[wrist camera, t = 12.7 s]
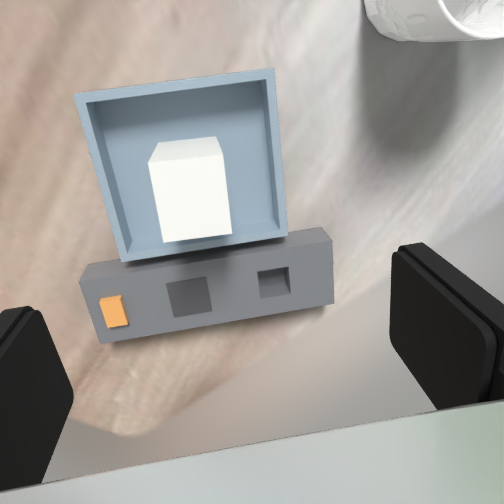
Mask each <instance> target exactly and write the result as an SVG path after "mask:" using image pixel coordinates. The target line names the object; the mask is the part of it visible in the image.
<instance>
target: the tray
mask: <svg viewBox="0 0 504 504" xmlns="http://www.w3.org/2000/svg"><path fill="white" fill-rule="evenodd" d="M73 95H74V99H75V102H76V106H77V109H78V113H79V116H80V120H81V123H82V127H83V130H84V134H85V137H86V141H87V144H88V148H89V151H90V155H91V158H92V162H93V165H94V169H95V172H96V176H97V179H98V183H99V186H100V190H101V193H102V196H103V200H104V203H105V207H106V210H107V214H108V217H109V221H110V224H111V228H112V231H113V235H114V238H115V242H116V245H117V249H118V252H119V256H120V259H121V262H126V261H132V260H139V259H145V258H151V257H157V256H164V255H170V254H176V253H182V252H189V251H195V250H201V249H208V248H214V247H220V246H226V245H233V244H239V243H245V242H251V241H258V240H264V239H270V238H277V237H283V236H288V225H287V213H286V202H285V190H284V178H283V166H282V154H281V143H280V131H279V119H278V107H277V95H276V84H275V72H274V68H268V69H260V70H252V71H244V72H237V73H229V74H221V75H214V76H206V77H198V78H190V79H183V80H175V81H167V82H160V83H152V84H144V85H136V86H129V87H121V88H113V89H106V90H98V91H90V92H83V93H77V94H73ZM213 136H216V137H217V140H218V143H219V145H220V148H221V150H222V153H223V158H224V167H225V176H226V184H227V193H228V201H229V210H230V219H231V227H232V234H225V235H218V236H210V237H203V238H195V239H187V240H180V241H172V242H165V243H163V238H162V233H161V228H160V223H159V217H158V212H157V207H156V202H155V197H154V192H153V187H152V182H151V177H150V172H149V166H148V162H149V160H150V158H151V156H152V154H153V152H154V150H155V148H156V146H157V144H158V142H167V141H176V140H186V139H195V138H204V137H213Z"/></svg>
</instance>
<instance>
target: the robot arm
mask: <svg viewBox="0 0 504 504" xmlns="http://www.w3.org/2000/svg"><path fill="white" fill-rule="evenodd" d="M390 300H391V301H390V330H389V331H390V332H389V333H390V340H391V343H392V345H393V347H394V349H395V350H396V352H397V353H398V355H399V356H400V357H401V359H402V360H403V362H404V363H405V365H406V366H407V367H408V369H409V370H410V372H411V373H412V375H413V376H414V377H415V379H416V380H417V382H418V383H419V385H420V386H421V387H422V389H423V390H424V392H425V393H426V395H427V396H428V397H429V399H430V400H431V402H432V403H433V404H434V406H435V407H436V409H437V410H435V411H430V412H425V413H419V414H413V415H408V416H402V417H396V418H392V419H385V420H380V421H375V422H369V423H363V424H358V425H352V426H346V427H341V428H335V429H330V430H324V431H319V432H313V433H307V434H302V435H296V436H291V437H286V438H280V439H275V440H270V441H264V442H258V443H253V444H248V445H242V446H237V447H232V448H226V449H221V450H215V451H210V452H205V453H199V454H194V455H189V456H184V457H178V458H173V459H167V460H162V461H156V462H151V463H146V464H141V465H135V466H130V467H125V468H119V469H114V470H109V471H104V472H99V473H94V474H88V475H83V476H77V477H72V478H67V479H62V480H56V481H52V482H46V483H42V480H43V478H44V475H45V472H46V470H47V467H48V465H49V462H50V460H51V457H52V455H53V452H54V449H55V447H56V444H57V442H58V439H59V437H60V434H61V432H62V429H63V427H64V424H65V421H66V419H67V416H68V414H69V411H70V409H71V406H72V403H73V398H74V395H73V389H72V386H71V384H70V381H69V379H68V377H67V374H66V372H65V369H64V367H63V364H62V362H61V359H60V357H59V355H58V352H57V350H56V347H55V345H54V342H53V340H52V338H51V335H50V333H49V330H48V328H47V325H46V323H45V321H44V318H43V316H42V314H41V312H40V311H38V310H34V309H33V308H32V307H30V306H24V307H18V308H12V309H6V310H4V311H2V312H1V313H0V504H504V304H503V303H501V302H500V301H499V300H497V299H496V298H495V297H493V296H492V295H491V294H489V293H488V292H487V291H486V290H484V289H483V288H482V287H480V286H479V285H478V284H476V283H475V282H474V281H472V280H471V279H470V278H469V277H467V276H466V275H464V274H463V273H462V272H461V271H459V270H458V269H457V268H455V267H454V266H453V265H452V264H450V263H449V262H448V261H446V260H445V259H444V258H442V257H441V256H440V255H438V254H437V253H436V252H435V251H433V250H432V249H431V248H429V247H428V246H427V245H425V244H424V243H422V242H421V243H415V244H409V245H402V246H400V247H399V248H398V251H397V252H394V253H393V255H392V266H391V298H390Z"/></svg>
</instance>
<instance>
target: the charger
mask: <svg viewBox="0 0 504 504" xmlns="http://www.w3.org/2000/svg"><path fill="white" fill-rule="evenodd" d="M148 166H149V172H150V177H151V182H152V187H153V192H154V197H155V202H156V207H157V212H158V217H159V223H160V228H161V233H162V238H163V243H165V242H172V241H180V240H187V239H195V238H203V237H210V236H218V235H225V234H232V227H231V219H230V210H229V201H228V193H227V184H226V176H225V167H224V158H223V153H222V150H221V148H220V145H219V143H218V140H217V137H216V136H213V137H204V138H195V139H186V140H176V141H167V142H158V144H157V146H156V148H155V150H154V152H153V154H152V156H151V158H150V160H149V162H148Z"/></svg>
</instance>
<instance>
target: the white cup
mask: <svg viewBox="0 0 504 504" xmlns="http://www.w3.org/2000/svg"><path fill="white" fill-rule="evenodd" d="M364 4H365V9H366V14H367V17H368V18H369V20H370V21H371V23H372V24H373V25H374V27H375V28H376V29H377V31H378V32H379V33H380V34H382V35H384V36H386V37H389V38H391V39H393V40H396V41H410V40H412V41H419V42H451V41H470V40H493V39H500V38H504V0H364Z"/></svg>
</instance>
